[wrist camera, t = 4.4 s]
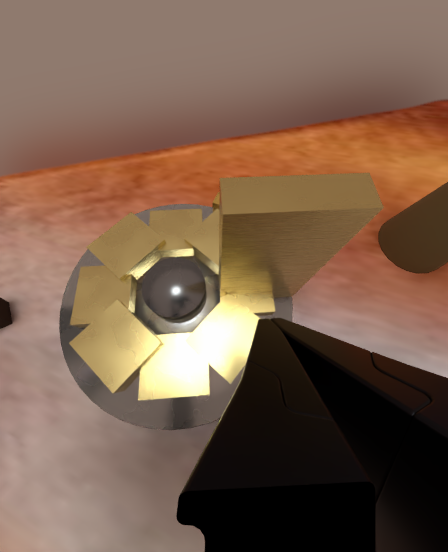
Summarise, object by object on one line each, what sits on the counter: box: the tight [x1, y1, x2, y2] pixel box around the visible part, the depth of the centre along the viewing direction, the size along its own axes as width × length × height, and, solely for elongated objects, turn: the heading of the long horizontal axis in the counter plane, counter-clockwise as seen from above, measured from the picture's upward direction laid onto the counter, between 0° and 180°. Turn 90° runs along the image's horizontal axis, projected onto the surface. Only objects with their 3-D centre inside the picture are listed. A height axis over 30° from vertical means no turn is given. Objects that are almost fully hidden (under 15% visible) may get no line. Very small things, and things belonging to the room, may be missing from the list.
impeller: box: [59, 192, 293, 430], centre depth 17 cm, size 18×18×3 cm
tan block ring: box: [69, 173, 384, 401], centre depth 13 cm, size 16×14×10 cm
